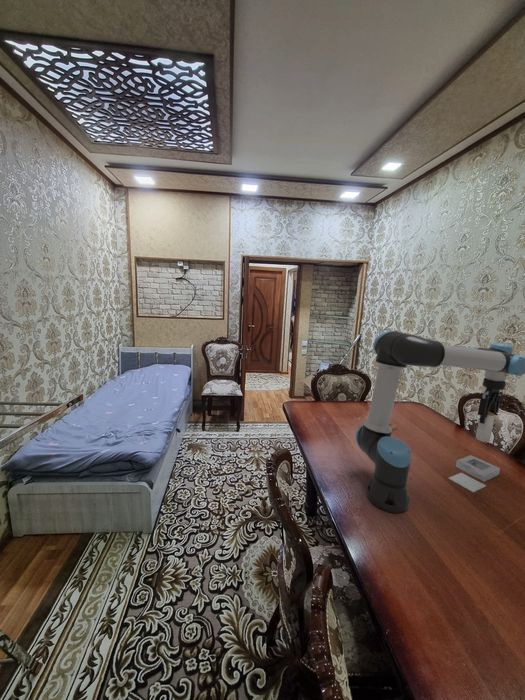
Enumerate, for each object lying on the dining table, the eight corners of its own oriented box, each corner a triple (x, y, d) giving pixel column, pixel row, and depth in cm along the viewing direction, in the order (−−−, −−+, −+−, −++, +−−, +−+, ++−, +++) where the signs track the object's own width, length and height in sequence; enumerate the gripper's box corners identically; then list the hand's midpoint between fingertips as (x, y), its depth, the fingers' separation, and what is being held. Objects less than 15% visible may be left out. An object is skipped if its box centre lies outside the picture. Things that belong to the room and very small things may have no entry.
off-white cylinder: (485, 443, 125) (491, 415, 123) (473, 438, 129) (478, 411, 127) (491, 441, 127) (497, 413, 125) (479, 436, 132) (484, 409, 129)
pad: (473, 492, 115) (473, 491, 115) (448, 478, 124) (448, 477, 124) (486, 486, 120) (486, 485, 120) (461, 473, 129) (461, 472, 129)
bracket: (382, 437, 161) (383, 425, 160) (369, 431, 167) (370, 420, 166) (398, 430, 171) (400, 419, 170) (386, 424, 178) (387, 414, 177)
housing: (484, 481, 123) (486, 474, 122) (455, 467, 133) (456, 460, 133) (498, 475, 128) (500, 468, 128) (469, 461, 139) (471, 455, 138)
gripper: (494, 383, 116) (483, 435, 120) (515, 379, 124) (504, 429, 128) (474, 378, 123) (464, 428, 126) (495, 375, 131) (485, 422, 135)
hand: (484, 428), depth 127 cm, fingers closed on off-white cylinder, 5 cm apart
